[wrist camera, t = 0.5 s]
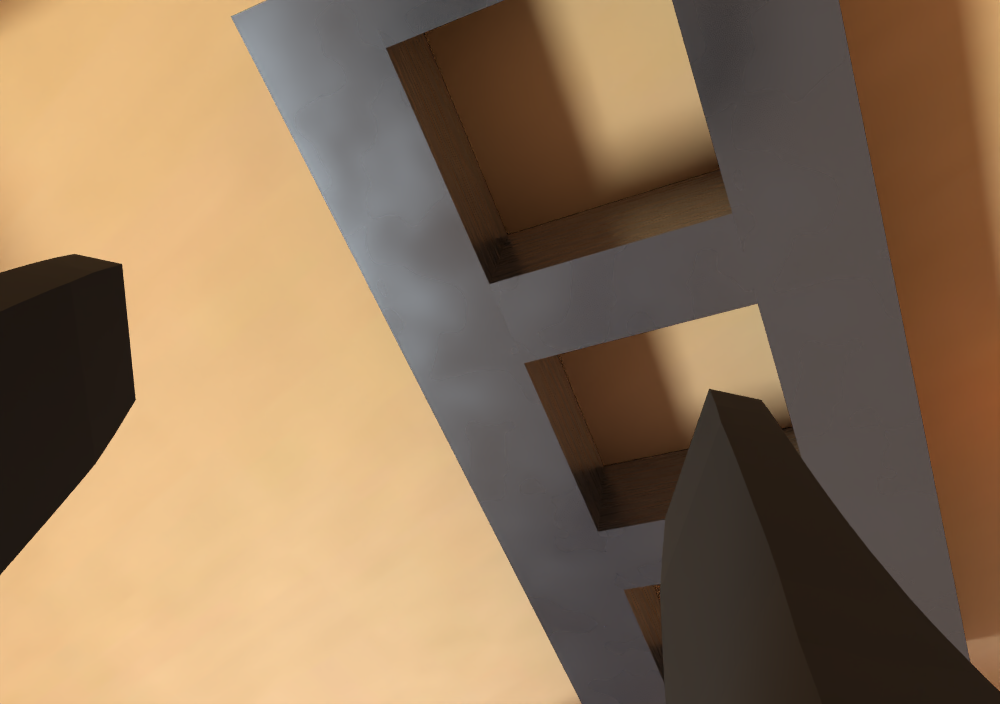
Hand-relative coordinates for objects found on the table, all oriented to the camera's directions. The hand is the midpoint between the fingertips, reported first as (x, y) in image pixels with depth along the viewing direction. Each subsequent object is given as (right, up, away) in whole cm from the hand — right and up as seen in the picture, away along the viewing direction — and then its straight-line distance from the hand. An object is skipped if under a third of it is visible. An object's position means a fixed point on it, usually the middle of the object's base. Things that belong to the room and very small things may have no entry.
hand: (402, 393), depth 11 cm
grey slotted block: (+5, 0, +11) cm, 12 cm away
